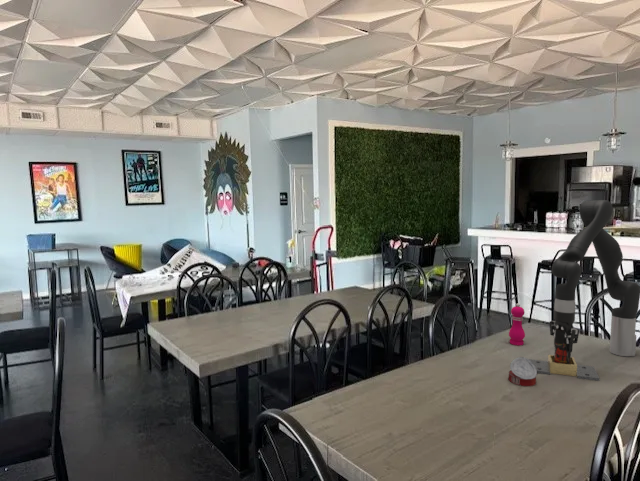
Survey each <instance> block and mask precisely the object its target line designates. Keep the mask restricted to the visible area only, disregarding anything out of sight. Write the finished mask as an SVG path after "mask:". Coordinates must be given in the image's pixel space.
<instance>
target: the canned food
mask: <svg viewBox="0 0 640 481" xmlns="http://www.w3.org/2000/svg"><path fill="white" fill-rule="evenodd" d="M529 359H530V358H527V357H524V356H519V357H516V358H514V359H513V360H512V361H511V363H510V364H509V367H510V370H509V371H508V381H509V382H510V383H512V384H514V385H518V386H520V385H521V386H520V387H522V386H523V387H533V386H535V385H536V384H537V374H538V373H537V370H536V368H535V366H534V365H533V363H532V362H531V361H530V360H529Z"/></svg>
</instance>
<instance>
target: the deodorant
mask: <svg viewBox="0 0 640 481" xmlns="http://www.w3.org/2000/svg"><path fill="white" fill-rule="evenodd" d="M565 333H566V334H567V336H570V335H571V333H570V332H568V333H567V332H564V331H562V330H560V329H555V347H554V353H553V355H554V362H556V363H565V364H570V360H571V354H572V352H570V353H567V352H566V343H567V342H566V338H565ZM569 341H570V338H569Z"/></svg>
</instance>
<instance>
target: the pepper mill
mask: <svg viewBox="0 0 640 481" xmlns="http://www.w3.org/2000/svg"><path fill="white" fill-rule="evenodd" d="M510 314H511V319H512V325H511V328H510V329H509V331H508V336H509V344H510V345H513V346H518V347H519V346H523V345H524V343H525V342H524V339H525V338H526V332H525V330H524V328H523V320H524V315H525V309H524V308H523V307H522V306H521V304H520V303H516V304H515V306H513V307H512V308H511V310H510Z"/></svg>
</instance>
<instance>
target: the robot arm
mask: <svg viewBox="0 0 640 481" xmlns="http://www.w3.org/2000/svg"><path fill="white" fill-rule="evenodd" d="M578 209H579V216H580V219H581V221H582V224H583V225H584V227H585V228H583V229H582V230H581V231H579V232H578V233H576V234H575V235H574V237H573V238H571V240H570V242H569V244H568V245H567V247H566V249H565V250H564V252H563V253H561V255H560V256H558V258H557V259H556V260H554V261H553V264H552V266H551V273H552V275H553V276H554V277H556V278H558V279H565V280H566V283H565V282H564V283H558V284H557V285H556V287H555V299H554V305H553V306H554V308H553V309H554V311H553V314H554V315H553V320H550V321H549V333H550V334H549V335H550V336H552V337H553V338H554V339H553V345H554V348H555V329H560V330H562V331H564V332H567V333H568V332H570V333H571V335H570V336H567V334H566V333H565V338H566V342H567V343H566V352H567V353H570V352H571V353H572V352H573V345H574V344H577V343H578V340H579V336H580V335H579V334H580V329H578V328H574V325H573V324H574V323H575V321H576V317H575V316H576V289H577V285H578V284H579V280H580V279H581V275H582V266H581V265H580V264H579V263H578V262H581V261H583V259H584V258H585V256H586V254H587V252H588V250H589V248H590V246H591V244H592V245H593V247H594V248H593V249H594V250H595V253H596V257H597V259H598V261H599V263H600V267H601V269H602V272H603V276H604V279H605V284H606V287H607V288H606V289H607V292H608V294H609V296H610V298H612V299H613V300H616V301H621V302H623V304H622V306H620V307H614V308H612V310H611V319H610V320H611V322H610V337H609V338H610V340H609V352H610V353H611V354H613V355H616V356H620V357H636V348H637V335H636V323H637V314H638V311H639V306H640V285H639V284H638V283H636V282H632V281H627V280H624V279H623V280H622V279H621V278H620V275H619V274H620V273H619V268H620V266H621V264H622V262H623V259H624V256H623V255H624V254H623V252H622V249H621V246H620V244H619V242H618V240H616V238H614V237H613V236H612V235H611V234H610V233H609V232H608V231H607V230H605V229H604V227H605V226H606V224H608V222H609V221H610V220H611V218H612V215H613V211H614V209H613V205H612V203H611V202H610V201H609V200H605V199H600V200H599V199H597V200H586V201H582V202H581V204H580V205H579V208H578ZM569 338H570V341H569Z"/></svg>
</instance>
